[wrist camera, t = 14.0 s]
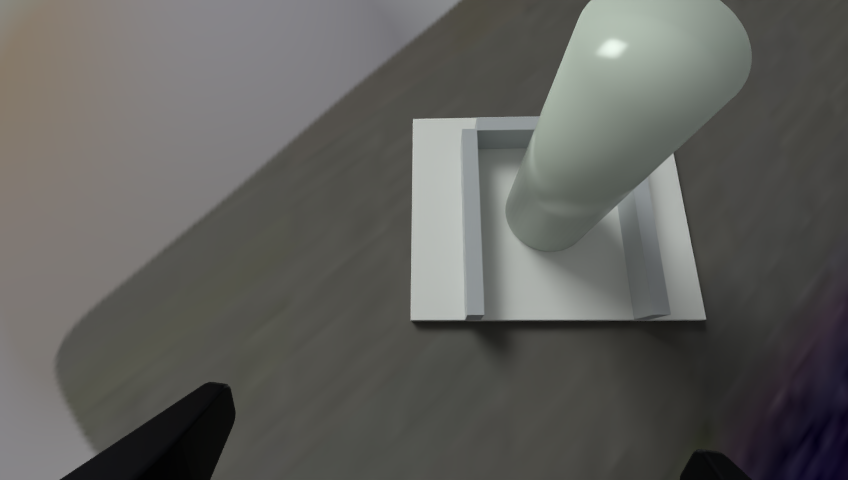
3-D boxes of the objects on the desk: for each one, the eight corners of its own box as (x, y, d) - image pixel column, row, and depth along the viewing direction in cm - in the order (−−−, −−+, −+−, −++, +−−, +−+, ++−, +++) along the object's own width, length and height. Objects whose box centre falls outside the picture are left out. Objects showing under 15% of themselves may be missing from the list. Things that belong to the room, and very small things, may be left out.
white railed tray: (699, 320, 22) (732, 314, 19) (411, 321, 22) (407, 315, 20) (660, 120, 25) (684, 93, 23) (413, 124, 26) (410, 98, 23)
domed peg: (593, 251, 22) (770, 116, 10) (507, 252, 23) (584, 118, 11) (584, 173, 24) (730, -25, 12) (503, 174, 24) (567, -20, 12)
